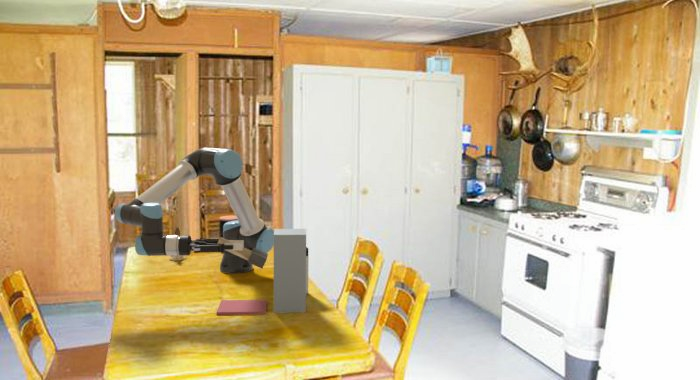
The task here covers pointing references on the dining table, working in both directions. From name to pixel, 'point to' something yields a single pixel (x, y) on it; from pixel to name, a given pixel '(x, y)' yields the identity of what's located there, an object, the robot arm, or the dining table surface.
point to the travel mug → (306, 271)
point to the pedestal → (289, 270)
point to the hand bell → (177, 257)
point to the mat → (242, 307)
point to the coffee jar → (223, 220)
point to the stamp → (248, 254)
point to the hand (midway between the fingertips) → (242, 245)
